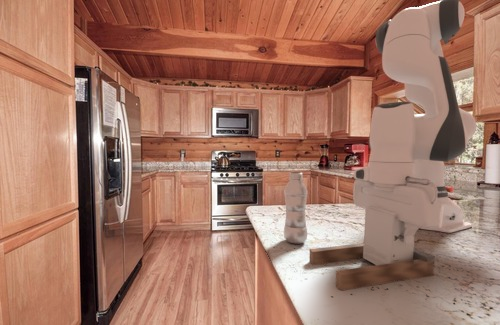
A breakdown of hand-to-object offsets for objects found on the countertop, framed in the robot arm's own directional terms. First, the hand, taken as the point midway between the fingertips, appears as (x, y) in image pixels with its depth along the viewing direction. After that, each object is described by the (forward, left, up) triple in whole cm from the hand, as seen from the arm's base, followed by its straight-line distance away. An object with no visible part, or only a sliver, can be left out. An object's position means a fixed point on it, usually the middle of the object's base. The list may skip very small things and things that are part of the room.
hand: (388, 235), depth 55 cm
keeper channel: (+6, 0, -7) cm, 9 cm away
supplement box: (0, 0, -7) cm, 7 cm away
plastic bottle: (+15, -18, -7) cm, 24 cm away
